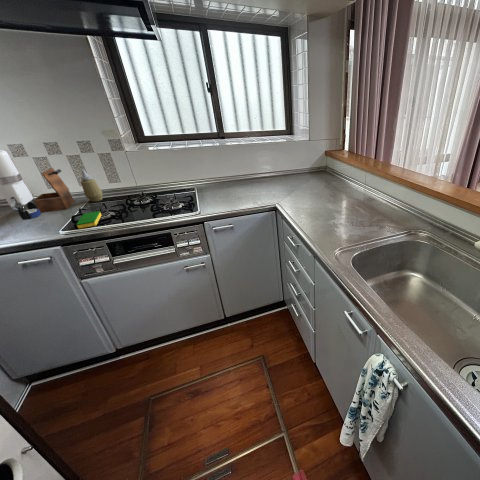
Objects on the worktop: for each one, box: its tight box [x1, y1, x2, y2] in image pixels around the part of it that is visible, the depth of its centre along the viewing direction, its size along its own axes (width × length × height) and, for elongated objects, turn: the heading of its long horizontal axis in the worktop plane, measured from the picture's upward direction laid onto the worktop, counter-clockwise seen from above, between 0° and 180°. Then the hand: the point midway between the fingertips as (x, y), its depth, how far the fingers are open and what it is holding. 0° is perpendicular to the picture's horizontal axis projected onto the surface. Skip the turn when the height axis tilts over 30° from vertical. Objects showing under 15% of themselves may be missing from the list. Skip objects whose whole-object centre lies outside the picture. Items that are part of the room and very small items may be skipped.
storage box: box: [33, 190, 75, 213], centre depth 149 cm, size 13×12×7 cm
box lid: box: [41, 167, 70, 197], centre depth 145 cm, size 13×12×5 cm
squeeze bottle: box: [80, 169, 103, 203], centre depth 154 cm, size 8×8×18 cm
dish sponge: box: [75, 210, 102, 229], centre depth 132 cm, size 7×14×2 cm, turn 26°
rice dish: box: [19, 208, 42, 220], centre depth 126 cm, size 7×7×3 cm
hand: (31, 215), depth 126 cm, fingers closed on rice dish, 7 cm apart
